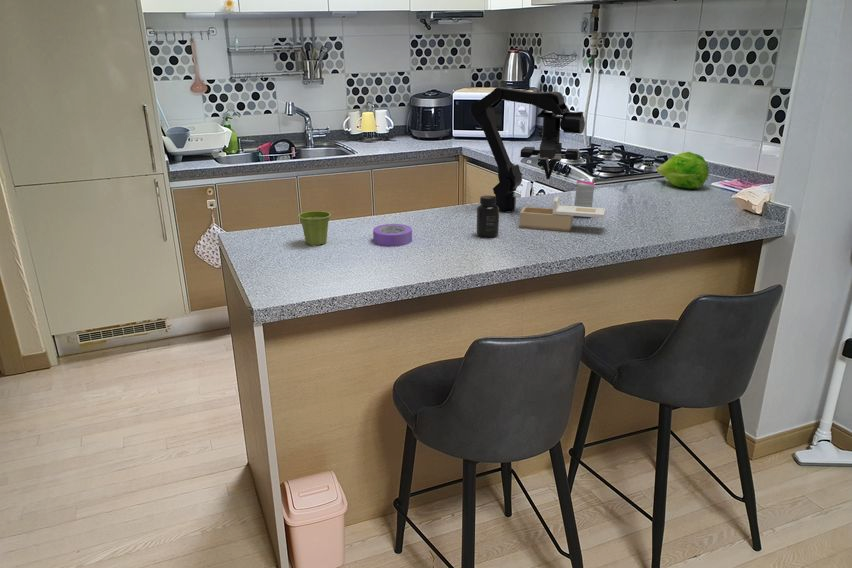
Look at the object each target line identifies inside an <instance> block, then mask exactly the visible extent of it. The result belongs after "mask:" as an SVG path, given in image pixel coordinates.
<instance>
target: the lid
mask: <svg viewBox="0 0 852 568" xmlns="http://www.w3.org/2000/svg"><path fill="white" fill-rule="evenodd" d="M560 198H561V197H560V196H558V195H557V196H555V198H554V199H553V203H552V205H553V206H552V209H553V214H557V215H570V216H573V217H574V216H583V217H591V218H599V219H601V218H602V219H604V218H605V215H606V211H607V210H606V208H605V207H593V206H592V207H580V206H574V205H565V204H564V205H563V204H562V205H561V204H560Z"/></svg>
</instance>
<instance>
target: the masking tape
mask: <svg viewBox="0 0 852 568" xmlns="http://www.w3.org/2000/svg"><path fill="white" fill-rule="evenodd" d="M372 236H373V243H374V244H376V245H378V246H382V247H383V246H384V247H401V246H406V245H409V244H411V243H412V242H413V228H412V227H411V226H409V225H407V224H402V223H385V224H381V225H377V226H375V227H373V229H372Z"/></svg>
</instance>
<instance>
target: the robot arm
mask: <svg viewBox="0 0 852 568" xmlns="http://www.w3.org/2000/svg"><path fill="white" fill-rule="evenodd" d="M503 101H506V102H507V101H508V102H514V103H521V104H526V105H527V104H528V105H531V106H535V107H537V108H538V109H541V111H540V112H539V113H538V114H537V115H536V118H542V130H541V131H542V133H541V140H540V141H541V142H540V145H539V149H536V147H535V146H524V147H522V148H521V150H520V154H519V155H520V156H519V157H520V158H525V159H528V158H529V159H530V158H531V157H532V156H537V161H539V162H540V163H541V164H542V167H543V169H544V173H545V177H546V180H550V179H551V176H552V174H553V172H554V169H555V167H556V164H557V162H558V163H560V162H561V160H562V157H563V158H564V157H565V159H566V160H567V161H569V160H570V161H578V160H579V157H580V150H579V149H578V148H567V149H566V150H563V149H562V147H563V144H562V142H560V138H561V137H560V136H561V131H562V132H563V133H565V134H578V135H582V134H584V131H585V125H586V122H585V116H584V111H571V110H570V109H569V108H568V106H567V104H566V103H565V97H564V95H563V94H562V92H560V91H542V92H540V91H539V92H535V91H529V90H522V89H516V88H509V87H505V86H499V87H495V88H494V89H493V90H492V91H491V92H490V93H488V94H487V95H485V96H483V97H482V98H481V99H480V100H476V101H474V102H473V103H472V104H471V106H470V108H469V109H470V110H469V111H470V114H471V116H472V117H473V119H474V121H475V122H476V124H478V125H479V127H480V128H481V129H482V131H483V133H484V136H485V138H486V141H487V143H488V145H489V148H490V151H491V153H492V156H493V157H494V161H495V163H496V166H497V177H498V183H497V184H496V185H495V186H494V187H493V188H492V191H493V194H494V196H495V197H496V204H495V205H497V206H498V207H499V212H502V213H513V211H514V210H516V204H517V196H515V192H516V191H517V189H518V187H520V185H522V182H523V173H522V172H521V170H520V165H519V164H515V165H514V164H513V163H512V161H511V160H510V157H509V155H508V152H507V149H506V147H505V144H504V142H503V139H502V137H501V135H500V132H499V129H498V128H497V124H496V112H495V108H496V107H497V106H498V105H500V104H501V102H503ZM549 163H550V164H549Z"/></svg>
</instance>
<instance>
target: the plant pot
mask: <svg viewBox="0 0 852 568" xmlns="http://www.w3.org/2000/svg"><path fill="white" fill-rule="evenodd" d="M297 216H298V218H299V221H300V223H301V226H302V232H303V236H304V239H305V244H308V245H309V246H320V245H325V244H327V241H328V228H329V221H330V217H331V216H332V214H331V213H330V212H328V211H322V210H310V211H303V212H301V213H299V214H298V215H297Z"/></svg>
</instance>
